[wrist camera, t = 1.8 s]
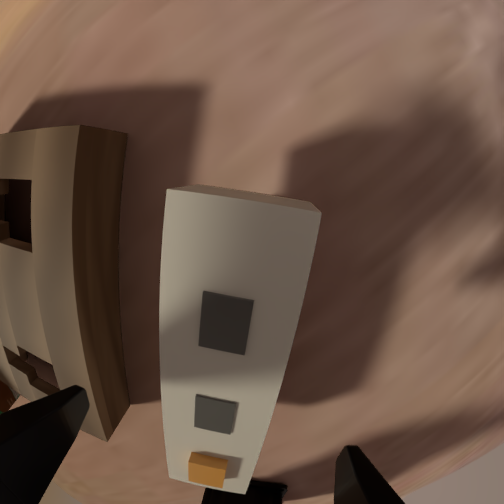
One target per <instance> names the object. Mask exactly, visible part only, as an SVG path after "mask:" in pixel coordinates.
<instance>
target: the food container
mask: <svg viewBox="0 0 504 504" xmlns="http://www.w3.org/2000/svg"><path fill="white" fill-rule="evenodd" d="M19 396H20V394H19V393H17V392H16V391H15V390H13V389H12V388H10V387H9V386H8V385H6V384H5V383H3V382H2V381H1V380H0V414H1V413H3V412H6V411H8V410H9V409H10V407H11V406H12V405H13V404H14V402H15V401H16V400H17V399H18V397H19Z"/></svg>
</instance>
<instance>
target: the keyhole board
mask: <svg viewBox="0 0 504 504" xmlns="http://www.w3.org/2000/svg"><path fill="white" fill-rule="evenodd" d="M127 136H128V134H127V133H122V132H117V131H111V130H106V129H101V128H95V127H90V126H84V125H71V126H59V127H49V128H40V129H32V130H24V131H17V132H11V133H5V134H0V380H1V381H2V382H3V383H5V384H6V385H8V386H9V387H10V388H12V389H13V390H15V391H16V392H17V393H19V394H20V395H22V396H23V397H25V398H26V399H28V400H29V401H31V402H33V401H35V400H38V399H40V398H43V397H45V396H48V395H50V394H53V393H55V392H58V391H60V390H63V389H65V388H68V387H70V386H72V385H78V386H81V387H83V388H85V390H86V392H87V396H88V399H89V403H90V407H89V410H88V412H87V414H86V417H85V419H84V421H83V423H82V425H81V428H80V430H82V431H84V432H86V433H88V434H91V435H93V436H95V437H97V438H99V439H101V440H104V441H106V442H108V440H109V439H110V437H111V435H112V434H113V432H114V431H115V429H116V427H117V426H118V424H119V422H120V421H121V419H122V418H123V416H124V414H125V413H126V411H127V410H128V408H129V406H130V401H129V395H128V389H127V382H126V374H125V366H124V358H123V348H122V337H121V325H120V308H119V281H118V244H119V217H120V200H121V188H122V177H123V167H124V158H125V150H126V143H127ZM9 179H25V180H32V185H31V234H32V244H30V243H26V242H23V241H19V240H16V239H12V238H10V234H9V222H6V221H5V214H4V194H7V193H9ZM26 351H28V352H30V353H31V354H33V355H35V356H37V357H39V358H40V359H42V360H44V361H46V362H48V363H50V364H52V365H53V369H54V372H55V376H56V379H57V382H58V385H59V388H60V389H58V388H57V387H55V386H53V385H51V384H49V383H47V382H46V381H44V380H42V379H40V378H38V376H37V374H36V371H35V367H33V366H31V365H29V364H28V363H26V362H24V361H25V360H26V359H27V358H28V357H27V353H26Z"/></svg>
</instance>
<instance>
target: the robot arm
mask: <svg viewBox="0 0 504 504" xmlns="http://www.w3.org/2000/svg"><path fill="white" fill-rule="evenodd" d="M89 407H90V403H89V399H88V396H87V392H86V390H85V388H83V387H81V386H78V385H72V386H70V387H68V388H65V389H63V390H60V391H58V392H55V393H53V394H50V395H48V396H45V397H43V398H40V399H38V400H35V401H33V402H30V403H27V404H25V405H22V406H20V407H17V408H14V409H11V410H9V411H6V412H3V413H1V414H0V504H39V502H40V500H41V498H42V497H43V494H44V493H45V491H46V489H47V487H48V486H49V484H50V482H51V480H52V479H53V477H54V475H55V473H56V471H57V470H58V468H59V466H60V464H61V463H62V461H63V459H64V458H65V456H66V454H67V453H68V451H69V449H70V447H71V446H72V444H73V442H74V441H75V439H76V437H77V434H78V432H79V430H80V428H81V425H82V423H83V421H84V419H85V417H86V414H87V412H88V410H89ZM286 492H287V486H286V485H282V484H271V483H262V482H254V481H250V483H249V485H248V488H247V491H246V494H240V493H234V492H228V491H222V490H217V489H212V488H208V487H206V488H205V492H204V496H203V500H202V503H201V504H282V498H283V497H284V495H285V493H286ZM334 504H405V503H404V502H403V500H402V499H401V498H400V497H399V496H398V494H397V493H396V492H395V491H394V490H393V489H392V487H391V486H390V485H389V484H388V482H387V481H386V480H385V479H384V478H383V476H382V475H381V474H380V473H379V472H378V470H377V469H376V468H375V467H374V465H373V464H372V463H371V462H370V460H369V459H368V458H367V457H366V455H365V454H364V453H363V452H362V450H361V449H360V448H359V447H358V446H356V445H347V446H345V447H344V448H343V450H342V452H341V453H340V455H339V456H338V458H337V460H336V470H335V488H334Z"/></svg>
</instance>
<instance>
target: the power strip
mask: <svg viewBox="0 0 504 504" xmlns="http://www.w3.org/2000/svg"><path fill="white" fill-rule="evenodd" d="M321 215H322V212H321V211H319V210H318V209H317V208H316V207H315V206H314V205H313V204H312V203H311V202H308V201H303V200H297V199H292V198H286V197H280V196H274V195H268V194H262V193H256V192H249V191H243V190H236V189H229V188H222V187H215V186H207V185H199V184H198V185H190V186H183V187H176V188H170V189H167V192H166V202H165V212H164V224H163V237H162V252H161V271H160V302H159V352H160V382H161V400H162V415H163V427H164V438H165V447H166V456H167V465H168V472H169V478H172V479H176V480H179V481H183V482H187V483H191V484H195V485H199V486H203V487H208V488H212V489H217V490H222V491H228V492H234V493H240V494H246V491H247V488H248V485H249V483H250V480H251V477H252V474H253V472H254V469H255V466H256V463H257V460H258V457H259V454H260V451H261V448H262V445H263V442H264V439H265V436H266V433H267V430H268V427H269V424H270V421H271V417H272V414H273V411H274V408H275V404H276V401H277V398H278V394H279V391H280V387H281V384H282V380H283V377H284V373H285V370H286V366H287V363H288V359H289V355H290V352H291V348H292V344H293V340H294V336H295V332H296V329H297V325H298V321H299V317H300V312H301V308H302V304H303V300H304V296H305V291H306V287H307V283H308V278H309V274H310V269H311V265H312V260H313V255H314V251H315V246H316V241H317V236H318V231H319V226H320V221H321Z"/></svg>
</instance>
